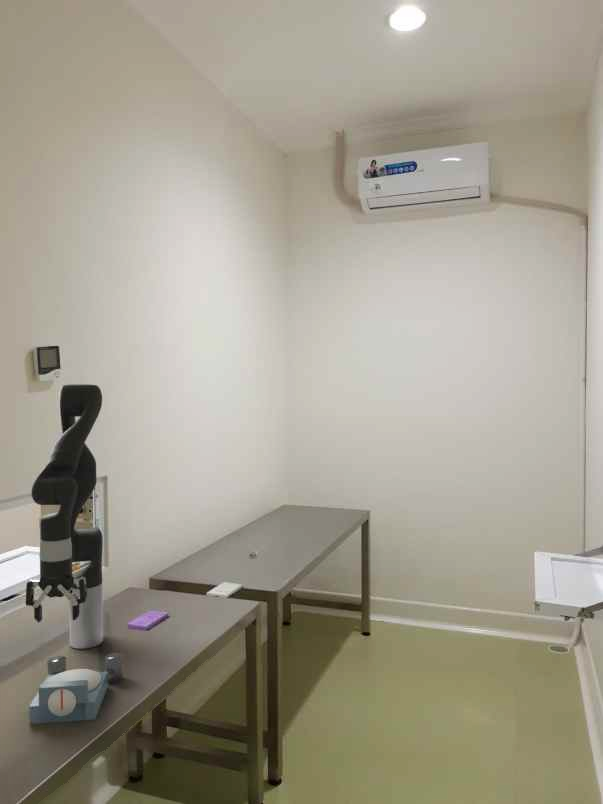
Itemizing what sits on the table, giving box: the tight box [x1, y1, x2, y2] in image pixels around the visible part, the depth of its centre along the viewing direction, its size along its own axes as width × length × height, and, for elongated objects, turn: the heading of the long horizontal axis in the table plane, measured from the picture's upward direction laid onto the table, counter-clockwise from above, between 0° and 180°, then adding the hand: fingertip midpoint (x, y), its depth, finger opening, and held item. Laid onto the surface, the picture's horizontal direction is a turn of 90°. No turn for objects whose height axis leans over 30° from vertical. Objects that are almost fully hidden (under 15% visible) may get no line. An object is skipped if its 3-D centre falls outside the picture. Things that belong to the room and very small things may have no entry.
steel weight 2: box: [104, 652, 124, 685], centre depth 159 cm, size 4×4×6 cm
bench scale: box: [29, 668, 108, 725], centre depth 146 cm, size 16×14×8 cm
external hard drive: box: [205, 581, 243, 599], centre depth 226 cm, size 2×8×12 cm
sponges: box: [126, 609, 169, 631], centre depth 197 cm, size 7×13×2 cm, turn 159°
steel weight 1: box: [46, 655, 67, 676], centre depth 157 cm, size 4×4×6 cm
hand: (57, 620), depth 156 cm, fingers open, 8 cm apart
